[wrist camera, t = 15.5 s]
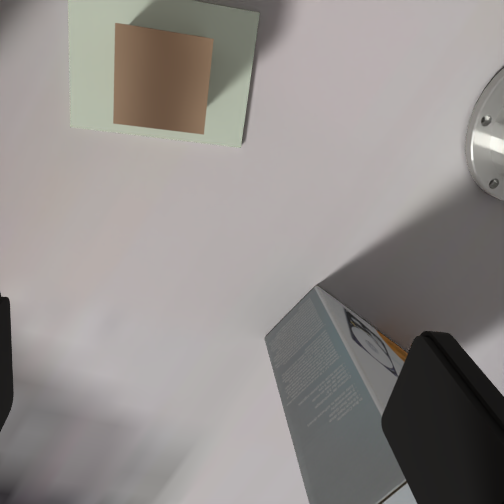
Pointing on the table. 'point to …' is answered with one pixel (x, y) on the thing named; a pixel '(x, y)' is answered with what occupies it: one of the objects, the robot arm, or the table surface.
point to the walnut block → (161, 79)
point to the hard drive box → (338, 401)
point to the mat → (169, 19)
